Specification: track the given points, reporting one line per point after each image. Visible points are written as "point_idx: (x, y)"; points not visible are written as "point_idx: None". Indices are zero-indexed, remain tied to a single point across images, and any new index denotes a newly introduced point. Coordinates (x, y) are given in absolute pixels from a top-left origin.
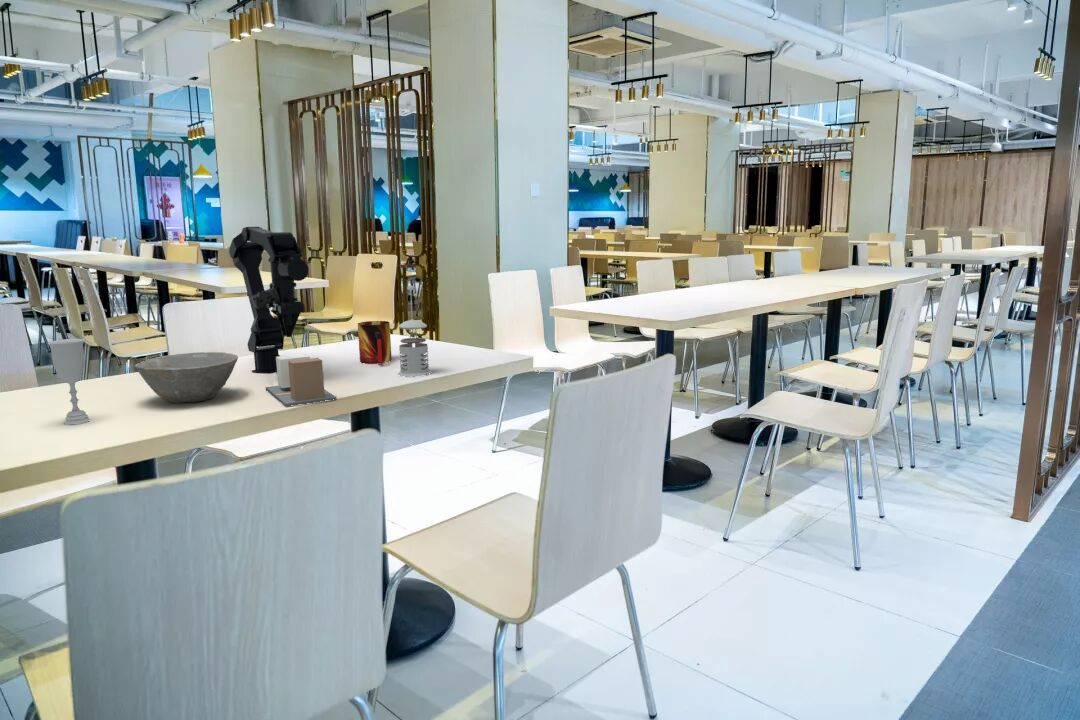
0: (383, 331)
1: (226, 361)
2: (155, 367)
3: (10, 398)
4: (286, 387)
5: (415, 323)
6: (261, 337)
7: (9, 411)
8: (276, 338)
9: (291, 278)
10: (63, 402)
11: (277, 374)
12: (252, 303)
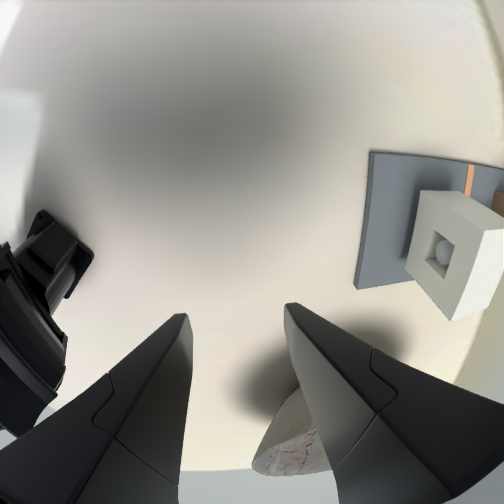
0: None
1: None
2: (281, 461)
3: (185, 470)
4: (401, 242)
5: None
6: (59, 371)
7: (251, 467)
8: (19, 305)
9: None
10: (233, 458)
11: (421, 285)
12: None
